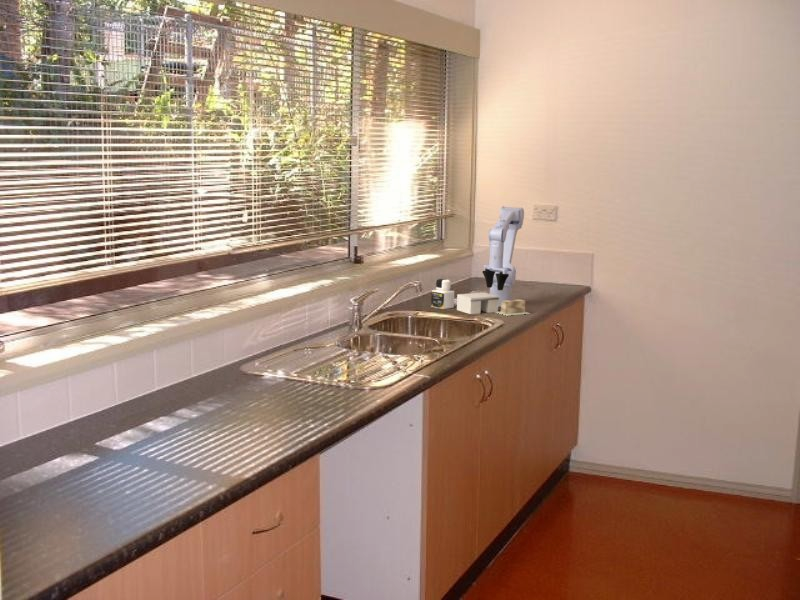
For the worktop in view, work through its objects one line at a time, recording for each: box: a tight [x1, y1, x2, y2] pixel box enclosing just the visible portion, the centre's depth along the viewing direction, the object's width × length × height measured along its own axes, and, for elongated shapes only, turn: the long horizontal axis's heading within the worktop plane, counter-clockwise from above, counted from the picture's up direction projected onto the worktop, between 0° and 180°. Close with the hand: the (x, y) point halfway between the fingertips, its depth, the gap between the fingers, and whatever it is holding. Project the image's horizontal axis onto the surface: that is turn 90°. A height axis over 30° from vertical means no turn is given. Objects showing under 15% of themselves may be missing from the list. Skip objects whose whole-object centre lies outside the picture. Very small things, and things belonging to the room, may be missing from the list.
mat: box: [494, 310, 531, 317], centre depth 395 cm, size 8×12×1 cm, turn 121°
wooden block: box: [500, 299, 526, 314], centre depth 394 cm, size 10×3×5 cm, turn 121°
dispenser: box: [456, 292, 499, 315], centre depth 397 cm, size 10×14×7 cm
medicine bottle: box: [430, 278, 455, 310], centre depth 403 cm, size 7×7×12 cm
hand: (494, 288), depth 398 cm, fingers open, 7 cm apart
